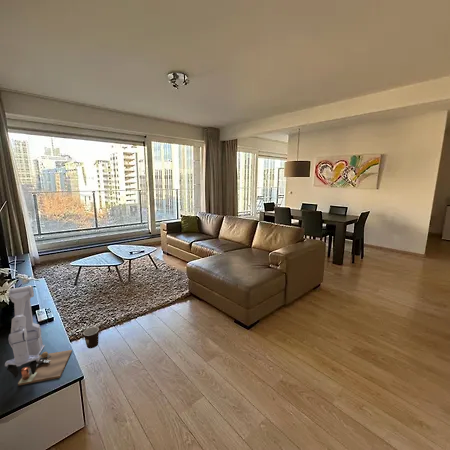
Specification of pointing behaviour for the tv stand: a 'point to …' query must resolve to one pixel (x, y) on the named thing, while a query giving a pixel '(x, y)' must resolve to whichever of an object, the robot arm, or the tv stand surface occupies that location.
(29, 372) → the lever
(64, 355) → the light wood flat board
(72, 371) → the tv stand surface
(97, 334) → the coffee mug
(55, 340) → the tv stand surface
